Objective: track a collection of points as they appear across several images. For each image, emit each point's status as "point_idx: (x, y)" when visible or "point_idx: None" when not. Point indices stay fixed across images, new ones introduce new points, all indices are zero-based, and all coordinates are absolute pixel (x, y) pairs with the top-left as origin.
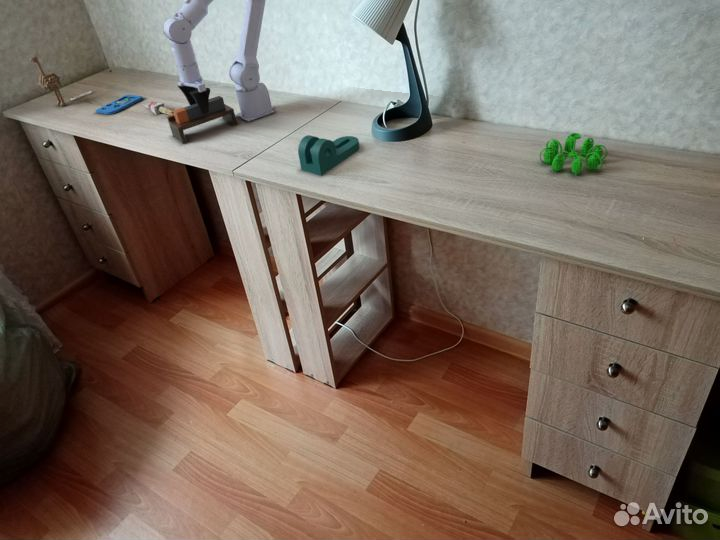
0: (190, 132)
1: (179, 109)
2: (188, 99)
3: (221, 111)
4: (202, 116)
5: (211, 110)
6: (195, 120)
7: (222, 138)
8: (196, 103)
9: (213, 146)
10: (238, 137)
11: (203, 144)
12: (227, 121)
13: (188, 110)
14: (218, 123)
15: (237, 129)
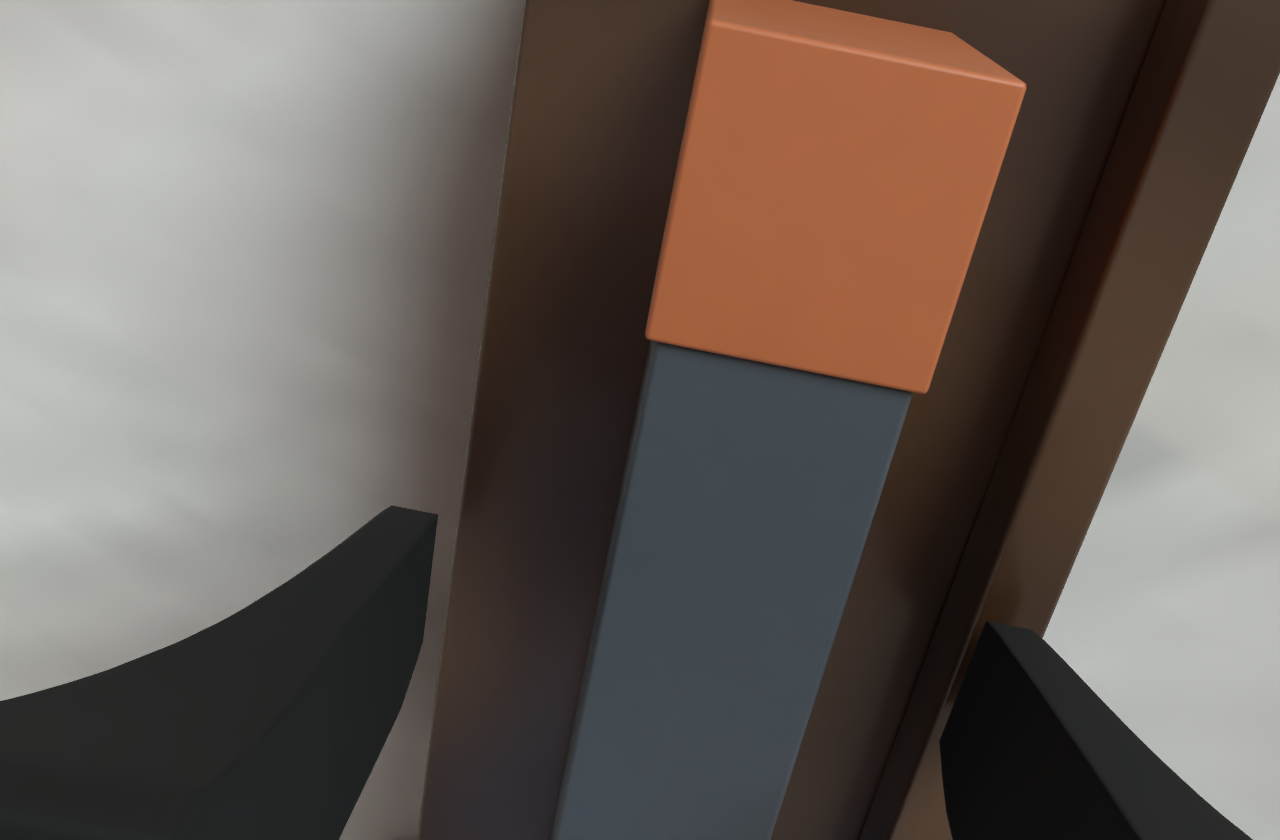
0: None
1: (874, 259)
2: (1069, 755)
3: (482, 811)
4: None
5: (570, 741)
6: (562, 331)
7: (191, 360)
8: (785, 730)
9: (12, 90)
10: (27, 495)
11: (235, 43)
12: None
13: (646, 389)
14: None
15: None
